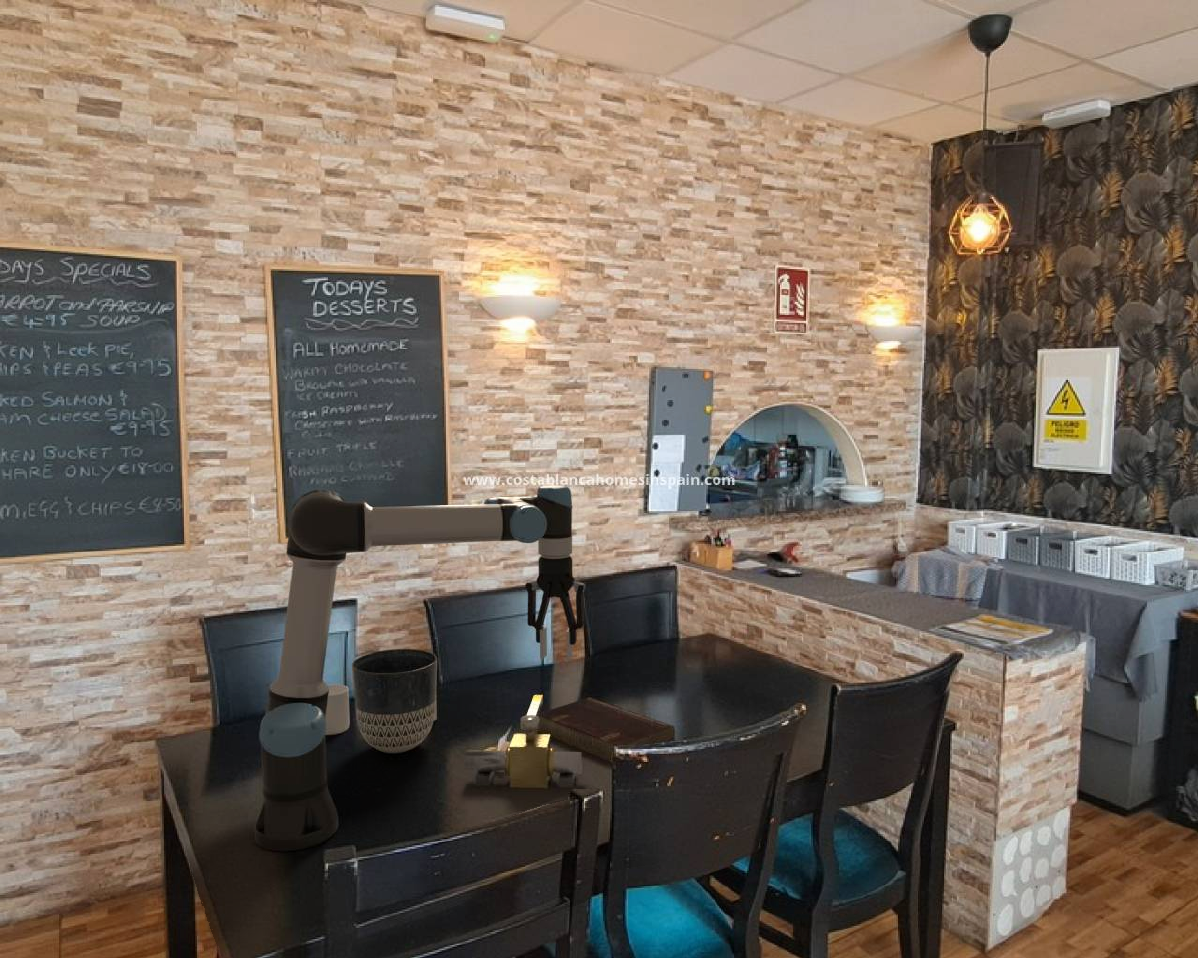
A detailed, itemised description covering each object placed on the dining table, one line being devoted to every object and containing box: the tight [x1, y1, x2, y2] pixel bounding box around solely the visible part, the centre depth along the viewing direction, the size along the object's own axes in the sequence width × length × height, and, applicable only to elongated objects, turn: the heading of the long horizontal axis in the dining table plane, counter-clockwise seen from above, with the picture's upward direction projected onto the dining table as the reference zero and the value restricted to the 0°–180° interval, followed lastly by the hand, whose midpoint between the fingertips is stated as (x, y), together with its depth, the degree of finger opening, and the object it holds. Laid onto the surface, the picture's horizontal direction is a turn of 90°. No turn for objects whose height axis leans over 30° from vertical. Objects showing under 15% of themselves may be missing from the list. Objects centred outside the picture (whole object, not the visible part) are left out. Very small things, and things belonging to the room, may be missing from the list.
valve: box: [464, 730, 583, 789], centre depth 187 cm, size 7×25×12 cm, turn 87°
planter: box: [351, 648, 438, 754], centre depth 204 cm, size 20×20×21 cm
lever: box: [520, 694, 544, 731], centre depth 193 cm, size 17×4×2 cm, turn 177°
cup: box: [325, 684, 350, 736], centre depth 218 cm, size 8×12×10 cm
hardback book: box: [536, 696, 676, 763], centre depth 211 cm, size 29×19×5 cm, turn 45°
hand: (556, 657), depth 193 cm, fingers open, 5 cm apart
